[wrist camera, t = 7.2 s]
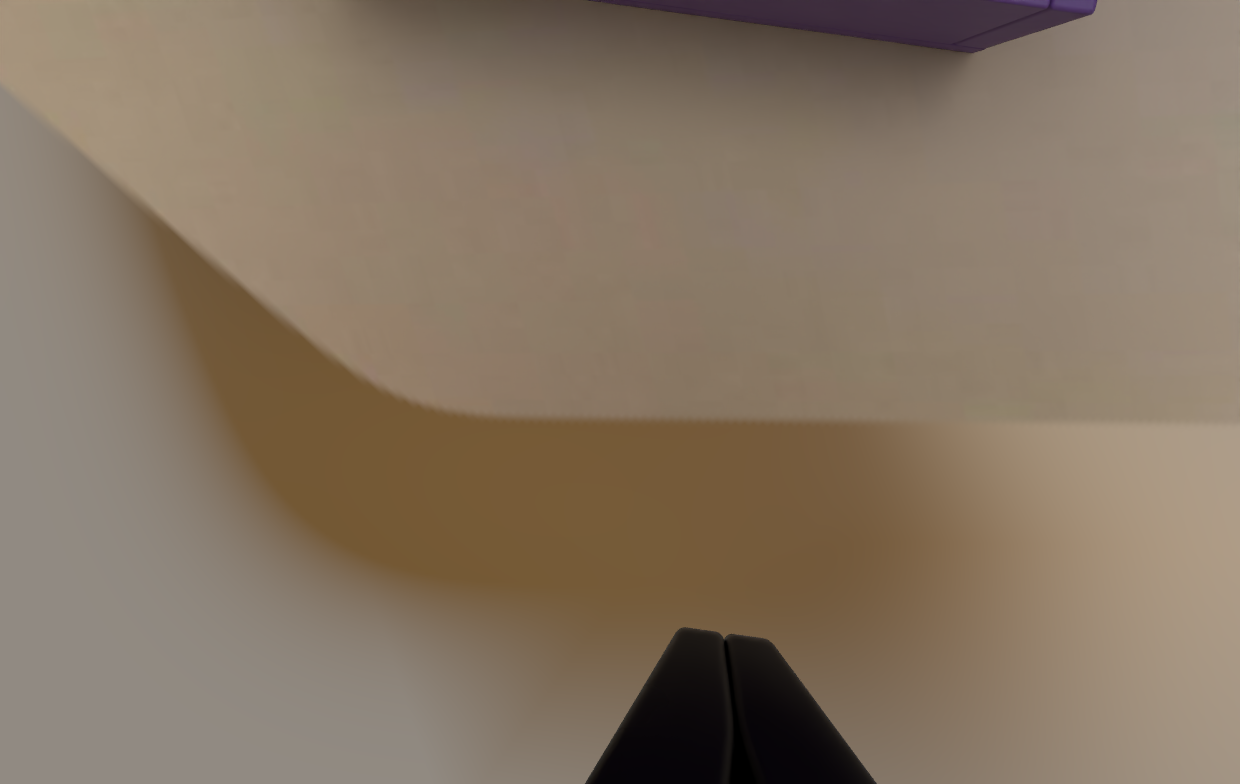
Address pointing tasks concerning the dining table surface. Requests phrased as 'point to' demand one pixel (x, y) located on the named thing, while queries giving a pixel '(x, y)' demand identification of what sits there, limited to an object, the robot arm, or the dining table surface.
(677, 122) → the dining table surface
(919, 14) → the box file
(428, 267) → the dining table surface
